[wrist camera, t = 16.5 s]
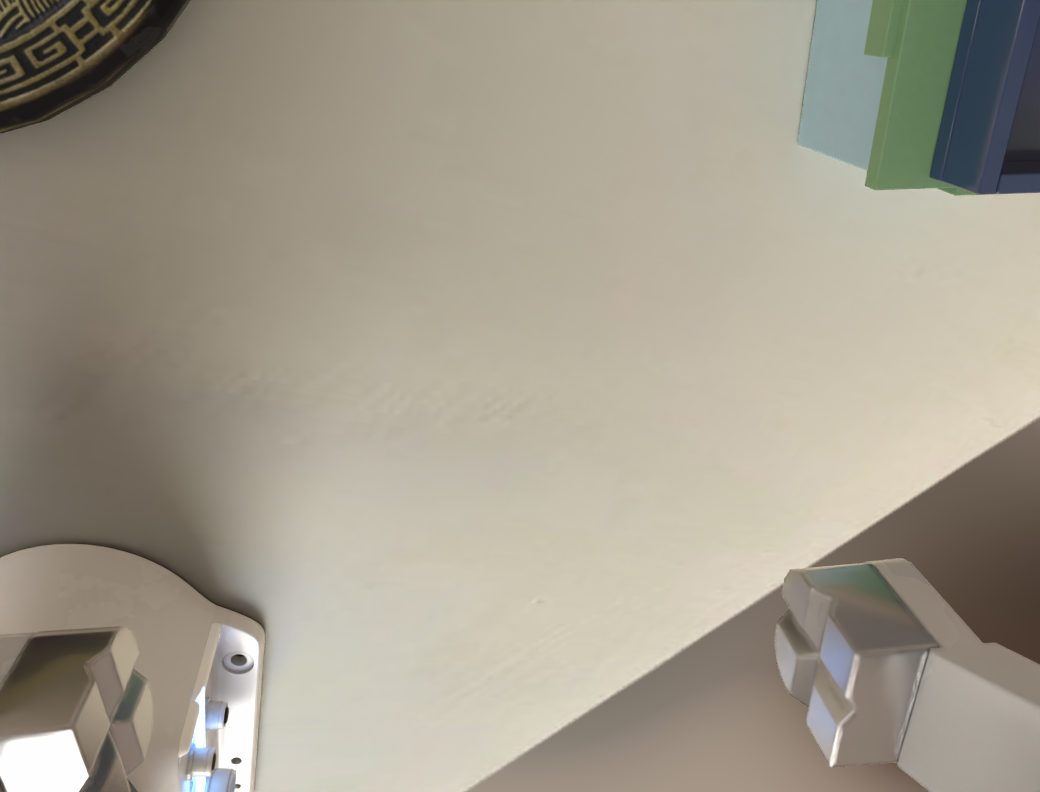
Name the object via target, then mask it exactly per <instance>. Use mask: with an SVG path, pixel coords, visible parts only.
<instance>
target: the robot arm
mask: <svg viewBox="0 0 1040 792" xmlns="http://www.w3.org/2000/svg"><path fill="white" fill-rule="evenodd" d="M782 596H783V598H784V599H785V601H786V603H787V604H788V606H789V609H788V610H787V612H786V613H785V614H784V615H783V616H782V617H781V618H780V619H779V620H778V621H777V625H776V633H775V641H774V644H775V652H776V660H777V665H778V668H779V671H780V674H781V677H782V680H783V682H784V684H785V686H786V688H787V690H788V692H789V693H790V695H791V696H792V697H794V698H795V699H797V700H799V701H800V702H802V703H803V704H804V705H806V706H807V707H809V709H808V714H807V720H806V725H807V727H808V729H809V730H810V732H811V734H812V736H813V738H814V739H815V741H816V743H817V745H818V746H819V748H820V750H821V752H822V754H823V756H824V757H825V759H826V761H827V763H828V765H829V767H830V768H832V767H844V766H856V765H868V764H880V763H893V762H898V764H897V766H898V767H900V768H901V769H902V770H903V771H904V772H906V773H907V774H908V775H910V776H911V777H912V778H913V779H915V780H916V781H917V782H918V783H920V784H921V785H922V786H923V787H925V788H926V789H927V790H929V791H930V792H1040V664H1037V663H1035V662H1033V661H1031V660H1029V659H1027V658H1025V657H1023V656H1021V655H1019V654H1017V653H1015V652H1013V651H1011V650H1009V649H1007V648H1005V647H1003V646H1001V645H999V644H997V643H984V644H983V643H982V641H981V640H980V639H979V638H978V637H977V636H976V635H975V634H974V633H973V631H972V630H971V629H970V628H969V627H968V626H967V625H966V624H965V622H964V621H963V620H962V619H961V618H960V617H959V616H958V615H957V614H956V613H955V611H954V610H953V609H952V608H951V607H950V606H949V605H948V604H947V602H946V601H945V600H944V599H943V598H942V597H941V596H940V595H939V593H938V592H937V591H936V590H935V589H934V588H933V587H932V585H931V584H929V582H928V581H927V580H926V579H925V578H924V576H922V574H921V573H920V572H919V571H918V570H917V569H916V568H915V566H914V565H913V564H912V563H910V562H909V561H907V560H905V559H902V558H897V559H888V560H879V561H869V562H864V563H861V564H860V563H858V564H847V565H836V566H825V567H815V568H803V569H792V570H790V571H789V572H788V574H787V576H786V577H785V579H784V584H783V590H782ZM264 647H265V632H264V630H263V628H262V627H261V625H260V624H258V623H257V622H256V621H254V620H252V619H250V618H249V617H246V616H244V615H242V614H239V613H237V612H234V611H231V610H229V609H226V608H223V607H220V606H217V605H215V604H214V603H212V602H210V601H209V600H207V599H206V598H205V597H203V596H202V595H201V594H200V593H199V592H197V591H196V590H195V589H194V588H193V587H191V586H190V585H189V584H188V583H187V582H185V581H184V580H183V579H181V578H180V577H179V576H177V575H176V574H174V573H172V572H171V571H169V570H167V569H166V568H164V567H162V566H160V565H158V564H156V563H154V562H152V561H150V560H147V559H145V558H142V557H140V556H137V555H134V554H131V553H128V552H125V551H121V550H117V549H113V548H108V547H102V546H95V545H86V544H53V545H43V546H37V547H32V548H27V549H23V550H20V551H16V552H13V553H10V554H8V555H5V556H3V557H0V792H254V783H255V770H256V756H257V743H258V729H259V715H260V702H261V688H262V674H263V660H264ZM236 654H241V655H244V656H243V657H240V656H237V655H236Z"/></svg>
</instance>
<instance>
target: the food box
mask: <svg viewBox="0 0 1040 792" xmlns="http://www.w3.org/2000/svg"><path fill="white" fill-rule="evenodd" d="M966 3H967V0H817V7H816V14H815V21H814V28H813V35H812V42H811V50H810V57H809V64H808V71H807V78H806V85H805V92H804V100H803V107H802V114H801V121H800V128H799V135H798V142H797V143H798V145H801V146H803V147H806V148H809V149H811V150H814V151H817V152H819V153H822V154H824V155H827V156H830V157H832V158H835V159H837V160H840V161H843V162H845V163H848V164H850V165H853V166H856V167H858V168H861V169H864V170H866V171H867V177H866V182H865V186H867V187H869V188H871V189H874V190H895V189H925V188H937V189H940V190H943V191H945V192H948V193H951V194H953V195H978V194H975V193H972V192H969V191H966V190H963V189H961V188H958V187H955V186H952V185H949V184H946V183H943V182H941V181H938V180H935V179H932V178H930V171H931V166H932V162H933V157H934V152H935V148H936V143H937V138H938V134H939V129H940V124H941V120H942V115H943V110H944V106H945V101H946V96H947V92H948V87H949V82H950V77H951V73H952V68H953V63H954V59H955V54H956V49H957V45H958V40H959V35H960V31H961V26H962V21H963V17H964V12H965V7H966Z"/></svg>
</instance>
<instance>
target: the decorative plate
mask: <svg viewBox="0 0 1040 792" xmlns="http://www.w3.org/2000/svg"><path fill="white" fill-rule="evenodd" d="M189 1H190V0H0V133H4V132H7V131H11V130H14V129H18V128H21V127H25V126H28V125H32V124H36V123H39V122H43V121H46V120H49V119H51V118H52V117H54V116H56V115H58V114H60V113H62V112H63V111H65V110H67V109H69V108H71V107H73V106H74V105H76V104H78V103H80V102H82V101H84V100H85V99H87V98H89V97H91V96H93V95H95V94H96V93H98V92H100V91H102V90H104V89H106V88H107V87H109V86H111V85H112V84H113V83H114V82H116V81H117V80H118V79H119V78H120V77H121V76H122V75H123V74H124V73H125V72H127V71H128V70H129V69H130V68H131V67H132V66H133V65H134V64H135V63H137V62H138V61H139V60H140V59H141V58H142V57H143V56H144V55H145V54H147V53H148V52H149V51H150V50H151V49H152V48H153V47H154V46H155V45H157V44H158V43H159V42H160V41H161V40H162V39H163V38H164V37H165V36H166V34H167V33H168V31H169V30H170V29H171V27H172V26H173V24H174V23H175V21H176V20H177V18H178V17H179V16H180V14H181V13H182V11H183V10H184V8H185V7H186V5H187V4H188V3H189Z"/></svg>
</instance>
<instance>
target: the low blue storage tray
mask: <svg viewBox="0 0 1040 792" xmlns="http://www.w3.org/2000/svg"><path fill="white" fill-rule="evenodd" d="M930 178H932V179H935V180H938V181H941V182H943V183H946V184H949V185H952V186H955V187H958V188H961V189H963V190H966V191H969V192H972V193H975V194H978V195H985V194H1015V193H1040V0H967V3H966V7H965V12H964V17H963V21H962V26H961V31H960V35H959V40H958V45H957V49H956V54H955V59H954V63H953V68H952V73H951V77H950V82H949V87H948V92H947V96H946V101H945V106H944V110H943V115H942V120H941V124H940V129H939V134H938V138H937V143H936V148H935V152H934V157H933V162H932V166H931V171H930Z"/></svg>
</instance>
